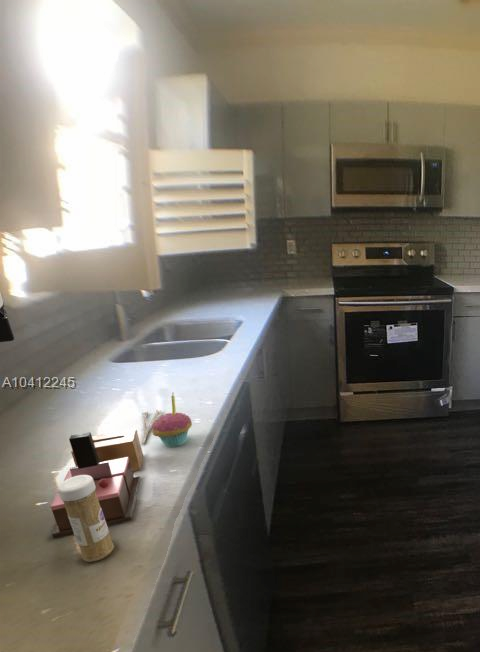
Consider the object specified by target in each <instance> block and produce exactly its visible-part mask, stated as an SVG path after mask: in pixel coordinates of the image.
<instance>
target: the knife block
mask: <svg viewBox="0 0 480 652" xmlns="http://www.w3.org/2000/svg"><path fill="white" fill-rule="evenodd" d="M92 439H93V442H94V445H95V449H96V452H97V455H98V458H99V462H104V461H109V460H115V459H120V458H125V457H128V458H129V461H130V465H131V469H132V472H133V473H134V472H138V471H141V469H142V465H143V461H144V453H143V449H142V445H141V441H140V437H139V433H138V430H137V428H131V429H124V430H119V431H118V430H117V431H113V432H106V433H102V434H95V435H92ZM70 453H71V456H72V460H73V462H74V465H75V467H76V466H78V465H77V462H76V459H75V456H74V453H73V450H72V449H71V451H70Z"/></svg>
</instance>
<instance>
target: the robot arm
mask: <svg viewBox="0 0 480 652" xmlns="http://www.w3.org/2000/svg"><path fill="white" fill-rule="evenodd" d="M4 308H5V303H4V300H3V296H2V292H0V343H6V342H13V341H15V336H14V332H13V330H12V327H11V324H10V320H9V318H8V313H7V311H6V310H5V309H4Z"/></svg>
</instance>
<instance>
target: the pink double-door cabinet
mask: <svg viewBox="0 0 480 652" xmlns="http://www.w3.org/2000/svg"><path fill="white" fill-rule="evenodd" d="M104 462H107V461H104ZM108 462H109V466H110V469H111V473H112V476H113V477H111V478H102V479H100V480H96V481H94V483H95V492H96V495H97V498H98V501H99V504H100V507H101V509H102V512H103V515H104V518H105V521H106V524H107V527H108V526H112V525H113V526H114V525H117V524H122V523H125V522H130V521H132V520H133V516H134V511H135V507H136V503H137V499H138V498H137V497H138V493H139V489H140V485H141V481H142V478H141V476H134V471H133V472H132V469H131V465H130V461H129V458H128V457H125V458H120V459H115V460H109V461H108ZM99 463H101V462H99ZM74 467H78V466H76V465H75V466H72V467H71V468H74ZM71 477H72V475H71V472H70V468H69V469H68V471H67V473H66V475H65V477H64V479H63V481H65V480H67V479H69V478H71ZM50 509H51V512H52V515H53V517H54V520H55V523H56V524H55V527H54V529H53V531H52V532H51V536H52V538H53V539H55V538H59V537H64V536H69V535H74V532H73V529H72V527H71V524H70V521H69V518H68V514H67V511H66V508H65V505H64V502H63V500H61V498H60V495H59V492H58V491H57V493H56V495H55V497H54V499H53V501H52V503H51V505H50Z"/></svg>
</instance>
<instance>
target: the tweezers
mask: <svg viewBox="0 0 480 652" xmlns="http://www.w3.org/2000/svg"><path fill="white" fill-rule="evenodd" d="M161 413H162V409H160V410H159V409H158V410H157V409H155V414H154V415H153V416H152V417H153V418H152V419H151V421H150V423H149V425H148V428H147V423H146V422H147V421H146V417H147V416H148V415H149V411H146V412H142V413H141V415H142V423H143V437H142V444H144V445H145V442H146V439H147V436H148V434H149V431H150V430H151V429H152V424H153V423H154V422H155V420H157V419H158V416H159V415H160V414H161Z"/></svg>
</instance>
